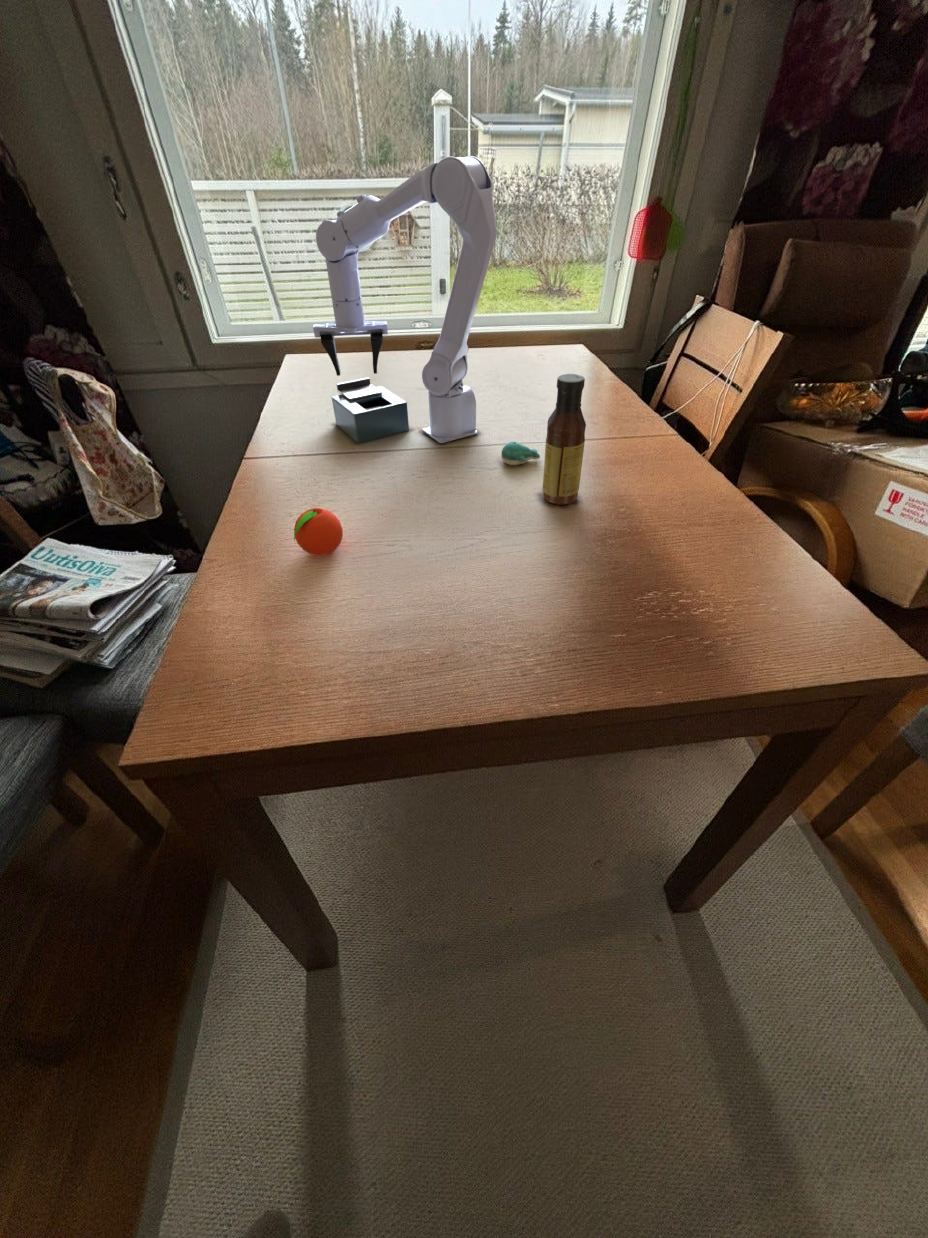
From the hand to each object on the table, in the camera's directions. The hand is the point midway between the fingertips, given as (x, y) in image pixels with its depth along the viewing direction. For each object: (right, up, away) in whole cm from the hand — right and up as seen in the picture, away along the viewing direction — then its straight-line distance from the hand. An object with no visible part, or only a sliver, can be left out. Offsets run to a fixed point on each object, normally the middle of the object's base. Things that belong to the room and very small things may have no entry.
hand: (357, 373), depth 107 cm
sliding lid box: (+2, -10, +4) cm, 11 cm away
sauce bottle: (+39, -31, -18) cm, 53 cm away
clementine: (+1, -42, -30) cm, 52 cm away
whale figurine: (+34, -21, -8) cm, 41 cm away
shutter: (0, -3, +3) cm, 4 cm away
